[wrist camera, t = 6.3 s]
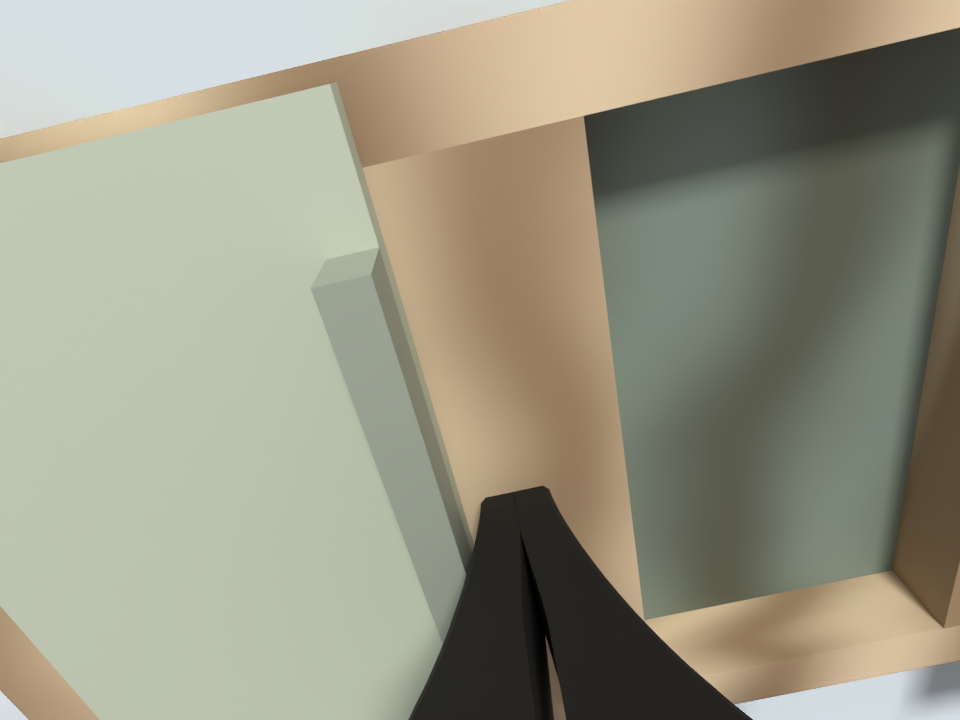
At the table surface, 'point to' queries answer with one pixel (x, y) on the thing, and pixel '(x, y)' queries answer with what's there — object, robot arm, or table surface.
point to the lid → (219, 426)
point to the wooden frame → (675, 308)
